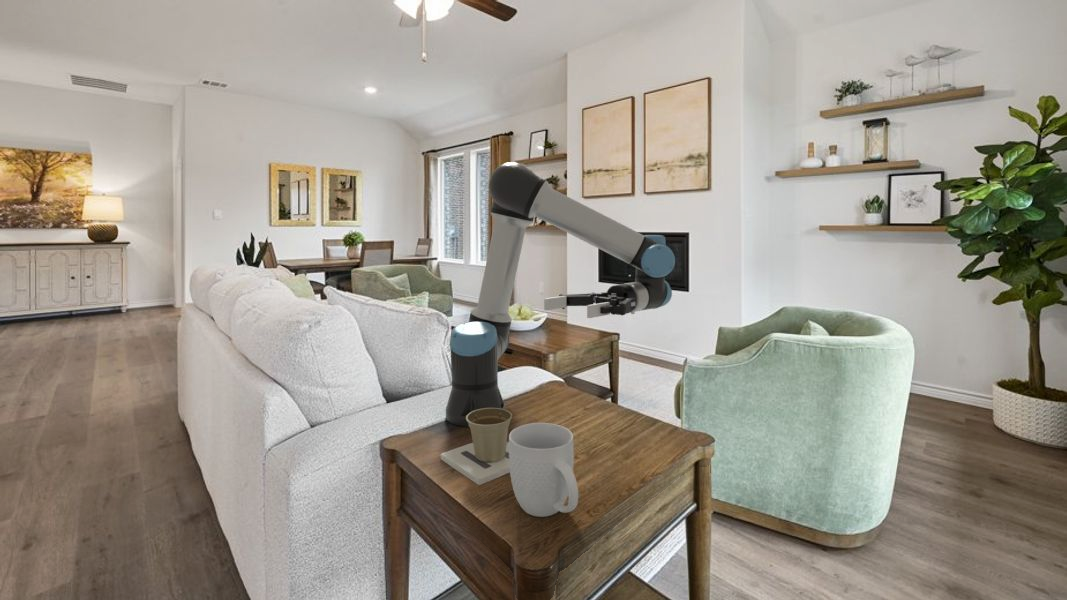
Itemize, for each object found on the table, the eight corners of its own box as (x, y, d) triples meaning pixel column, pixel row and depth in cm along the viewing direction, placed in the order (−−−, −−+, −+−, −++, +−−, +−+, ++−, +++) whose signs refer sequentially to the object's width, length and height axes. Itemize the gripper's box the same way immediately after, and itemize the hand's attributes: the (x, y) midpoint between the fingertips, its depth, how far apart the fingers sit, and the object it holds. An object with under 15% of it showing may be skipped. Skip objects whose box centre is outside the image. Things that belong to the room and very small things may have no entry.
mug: (601, 522, 80) (602, 447, 78) (546, 547, 74) (546, 465, 72) (548, 483, 92) (548, 417, 90) (497, 501, 86) (496, 431, 84)
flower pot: (458, 462, 98) (457, 421, 97) (480, 442, 107) (479, 405, 105) (500, 470, 94) (500, 427, 93) (519, 449, 103) (519, 410, 102)
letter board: (440, 459, 102) (440, 453, 102) (494, 439, 111) (494, 434, 111) (478, 485, 91) (478, 479, 91) (535, 461, 100) (535, 456, 100)
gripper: (668, 319, 114) (608, 333, 100) (589, 307, 132) (529, 317, 118) (669, 287, 112) (609, 296, 99) (589, 279, 131) (529, 286, 117)
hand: (565, 307), depth 109 cm, fingers open, 13 cm apart
